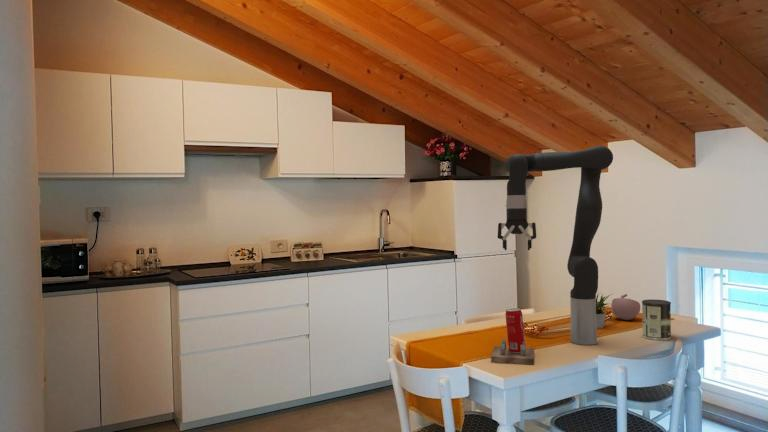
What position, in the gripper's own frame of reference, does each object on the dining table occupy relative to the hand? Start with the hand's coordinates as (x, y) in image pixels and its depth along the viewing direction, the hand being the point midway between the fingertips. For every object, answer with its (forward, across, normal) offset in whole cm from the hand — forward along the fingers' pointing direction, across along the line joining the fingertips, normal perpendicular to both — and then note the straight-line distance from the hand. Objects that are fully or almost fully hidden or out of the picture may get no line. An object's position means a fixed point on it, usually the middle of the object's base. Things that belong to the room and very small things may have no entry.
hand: (517, 250), depth 215 cm
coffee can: (+36, -52, -22) cm, 67 cm away
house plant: (+36, -30, -36) cm, 59 cm away
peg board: (+36, +1, +19) cm, 41 cm away
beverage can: (+34, 0, +19) cm, 39 cm away
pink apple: (+36, -45, -53) cm, 78 cm away
